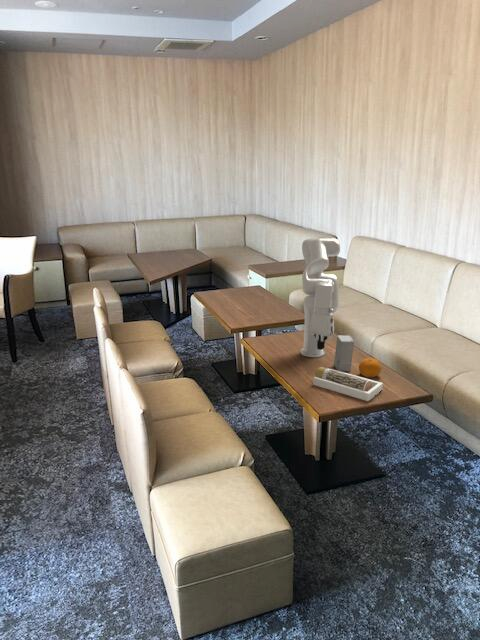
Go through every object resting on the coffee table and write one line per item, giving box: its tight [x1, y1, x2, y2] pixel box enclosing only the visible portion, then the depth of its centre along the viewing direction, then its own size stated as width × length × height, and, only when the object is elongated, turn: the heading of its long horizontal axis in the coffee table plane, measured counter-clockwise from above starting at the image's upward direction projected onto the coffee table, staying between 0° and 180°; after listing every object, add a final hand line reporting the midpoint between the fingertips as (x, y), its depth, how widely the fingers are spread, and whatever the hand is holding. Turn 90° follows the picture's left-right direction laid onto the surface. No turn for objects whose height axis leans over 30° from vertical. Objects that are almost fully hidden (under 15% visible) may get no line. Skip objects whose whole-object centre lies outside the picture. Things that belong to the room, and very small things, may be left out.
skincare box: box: [333, 334, 355, 372], centre depth 256 cm, size 8×7×16 cm
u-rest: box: [312, 368, 384, 402], centre depth 236 cm, size 14×27×4 cm, turn 52°
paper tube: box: [314, 366, 372, 392], centre depth 236 cm, size 7×7×25 cm
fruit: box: [358, 357, 382, 378], centre depth 249 cm, size 10×10×8 cm
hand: (320, 348), depth 241 cm, fingers closed
